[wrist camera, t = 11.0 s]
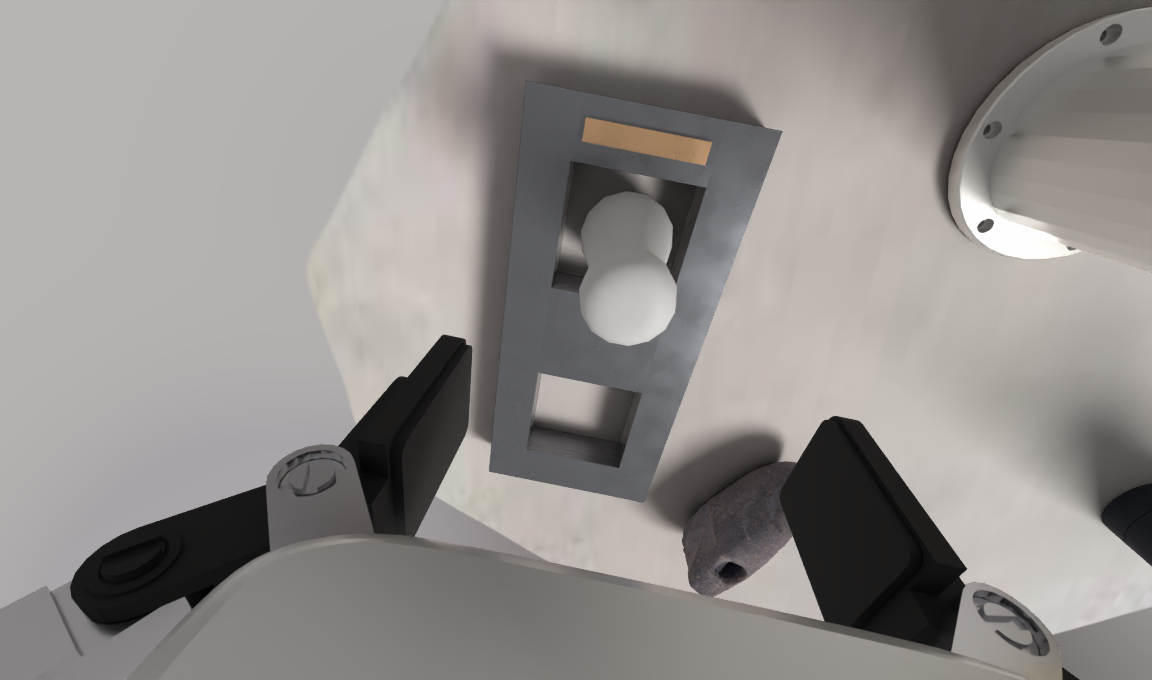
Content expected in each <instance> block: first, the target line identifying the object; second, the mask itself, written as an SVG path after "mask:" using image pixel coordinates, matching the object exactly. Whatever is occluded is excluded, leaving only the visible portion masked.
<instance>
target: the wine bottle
mask: <svg viewBox="0 0 1152 680" xmlns="http://www.w3.org/2000/svg"><path fill="white" fill-rule="evenodd" d="M1102 517H1103V523H1104V524H1105V525H1106V526H1107V527H1108V528H1109V529H1110V530H1111V531H1112V532H1113V533H1114V534H1115V535H1116V536H1118V537H1119V538H1120V539H1121V540H1122V541H1123V542H1124V543H1126V544H1127V545H1128V546H1129V547H1130V548H1131V549H1132V550H1134V551H1135V552H1136V553H1137V554H1138V555H1139V556H1141V557H1142V558H1143V559H1144V560H1145V561H1146V562H1147V563H1149V564H1150V565H1151V566H1152V484H1150V485H1146V486H1142V487H1139V488H1136V489H1134V490H1131V491H1129V492H1126V493H1124V494H1123V495H1121V496H1120V497H1118V498H1117V499H1115V500H1113V501H1112V502H1111V503H1110V505H1109V506H1108V507H1107V508H1106V509H1105V511H1104V514H1103V516H1102Z"/></svg>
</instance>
